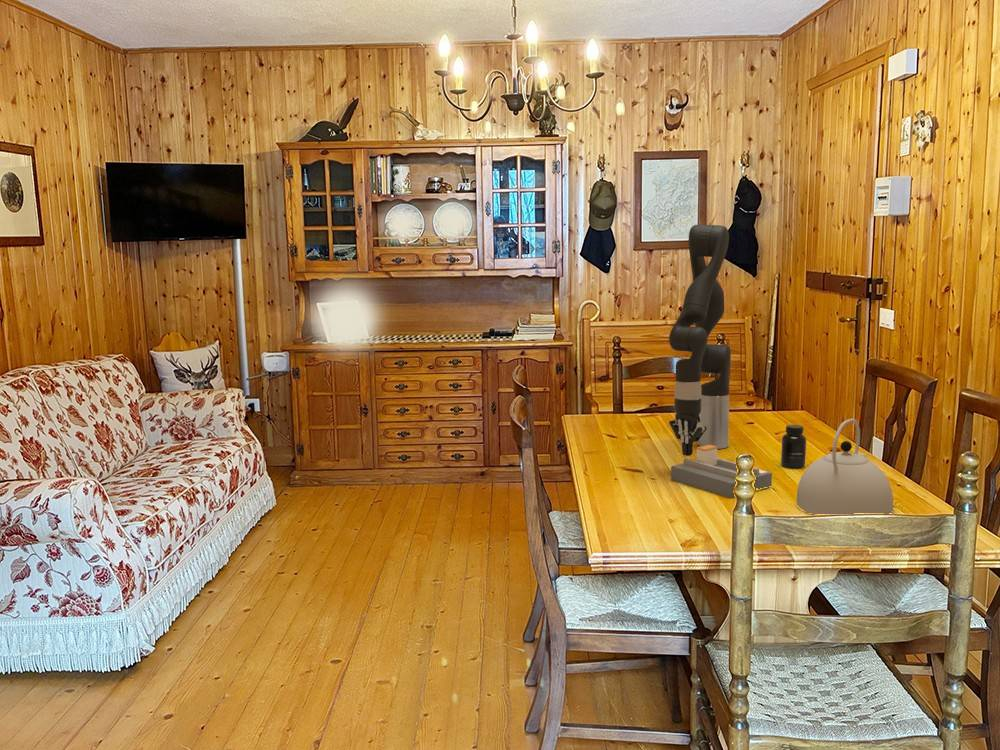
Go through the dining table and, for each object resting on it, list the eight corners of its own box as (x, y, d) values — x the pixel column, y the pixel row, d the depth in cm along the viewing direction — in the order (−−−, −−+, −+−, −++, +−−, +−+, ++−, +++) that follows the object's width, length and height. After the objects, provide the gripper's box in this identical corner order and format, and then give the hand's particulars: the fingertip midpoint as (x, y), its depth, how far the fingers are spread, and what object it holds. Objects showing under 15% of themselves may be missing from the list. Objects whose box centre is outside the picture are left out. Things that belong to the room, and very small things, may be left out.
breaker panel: (671, 479, 245) (671, 460, 244) (710, 469, 253) (710, 451, 252) (731, 498, 227) (731, 477, 226) (771, 487, 235) (772, 467, 234)
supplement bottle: (795, 470, 251) (796, 429, 249) (776, 465, 256) (777, 425, 254) (810, 466, 254) (811, 426, 252) (791, 461, 260) (792, 422, 258)
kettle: (818, 487, 235) (821, 405, 231) (907, 502, 220) (912, 415, 216) (781, 511, 216) (784, 422, 212) (876, 529, 201) (880, 434, 198)
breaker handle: (696, 465, 243) (696, 447, 242) (709, 462, 246) (709, 444, 245) (704, 467, 241) (704, 449, 240) (717, 464, 243) (717, 446, 243)
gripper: (661, 394, 250) (661, 452, 253) (695, 401, 239) (694, 462, 242) (680, 391, 254) (680, 448, 257) (714, 397, 243) (713, 457, 246)
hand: (687, 455), depth 249 cm, fingers closed
